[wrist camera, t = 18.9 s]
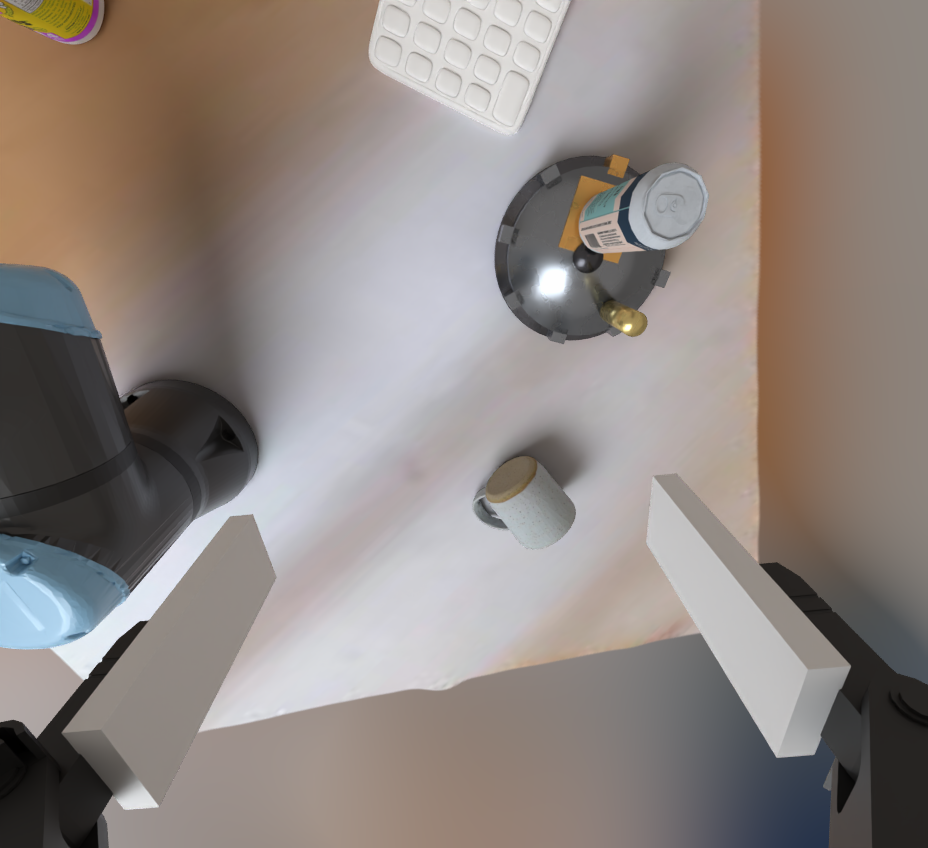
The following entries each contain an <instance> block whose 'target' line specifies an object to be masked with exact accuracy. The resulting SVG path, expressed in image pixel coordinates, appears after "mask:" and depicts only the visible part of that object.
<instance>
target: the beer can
mask: <svg viewBox="0 0 928 848" xmlns="http://www.w3.org/2000/svg"><path fill="white" fill-rule="evenodd" d="M708 198H709V194H708V191H707V189H706V186H705V184H704V181H703V179H702V176H701V175H699V174H698V173H697V172H696V171H695V170H694V169H692V168H691V167H689V166H688V165H685V164H681V163H666V164H663V165H660V166H657V167H656V168H654V169H652V170H650V171H648V172H646V173H644V174H641V175H639V176H637V177H635V178H633V179H630V180H628V181H626V182H624V183H622V184H619V185H617V186H615V187H613V188H611V189H608V190H606V191H604V192H601V193H599V194H597V195H595V196H593V197H592V198H591V199H590V200H589V201H588V202H587V203H586V205H585V206H584V208H583V210H582V212H581V214H580V218H579V234H580V237H581V239H582V241H583V242H584V244H585V245H586V246H587V247H588V248H589V249H591V250H592V251H594V252H597V253H618V252H633V251H648V250H662V249H669V248H673V247H676V246H678V245H680V244H682V243H683V242H684V241H686V240H687V239H688V238H690V236H691V235H692V234H693V233H694V232H695V231H696V229H697V228H698V227H699V225H700V223H701V222H702V220H703V219H704V217H705V212H706V208H707V203H708Z"/></svg>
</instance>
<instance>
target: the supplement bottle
mask: <svg viewBox="0 0 928 848" xmlns="http://www.w3.org/2000/svg"><path fill="white" fill-rule="evenodd" d="M0 15H1V16H3V17H5V18H7V19H9V20H11V21H13V22H15V23H17V24H20V25H22V26H24V27H26V28H28V29H31V30H33V31H35V32H37V33H39V34H41V35H44V36H46V37H48V38H51V39H53V40H56V41H58V42H61V43H66V44H82V43H85V42H87V41H89V40H91V39H92V38H93V37H94V36H95V35H96V34H97V33H98V31H99V30H100V27H101V24H102V21H103V17H104V0H0Z"/></svg>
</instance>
